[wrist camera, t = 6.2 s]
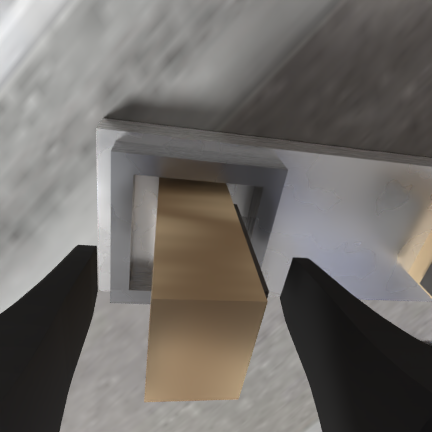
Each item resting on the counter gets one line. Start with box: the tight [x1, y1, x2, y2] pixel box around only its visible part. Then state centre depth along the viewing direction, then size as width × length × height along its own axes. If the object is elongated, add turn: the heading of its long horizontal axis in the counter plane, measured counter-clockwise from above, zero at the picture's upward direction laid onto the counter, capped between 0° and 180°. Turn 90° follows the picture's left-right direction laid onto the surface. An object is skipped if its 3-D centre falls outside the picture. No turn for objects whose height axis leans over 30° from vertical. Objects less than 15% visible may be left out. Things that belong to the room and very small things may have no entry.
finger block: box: [144, 177, 269, 402], centre depth 12 cm, size 3×4×7 cm
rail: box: [96, 118, 432, 304], centre depth 16 cm, size 20×8×3 cm, turn 81°
